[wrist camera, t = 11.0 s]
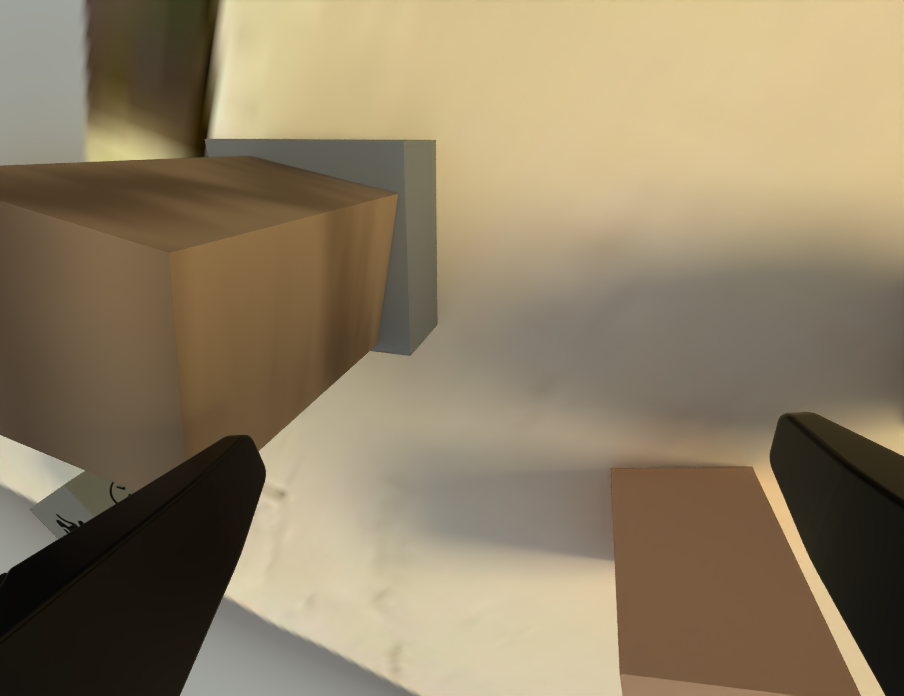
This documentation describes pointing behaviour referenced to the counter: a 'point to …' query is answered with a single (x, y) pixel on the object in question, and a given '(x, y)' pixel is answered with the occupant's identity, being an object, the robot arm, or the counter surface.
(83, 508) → the dice cube
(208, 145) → the charcoal base block
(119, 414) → the walnut block
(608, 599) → the counter surface
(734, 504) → the terracotta block
